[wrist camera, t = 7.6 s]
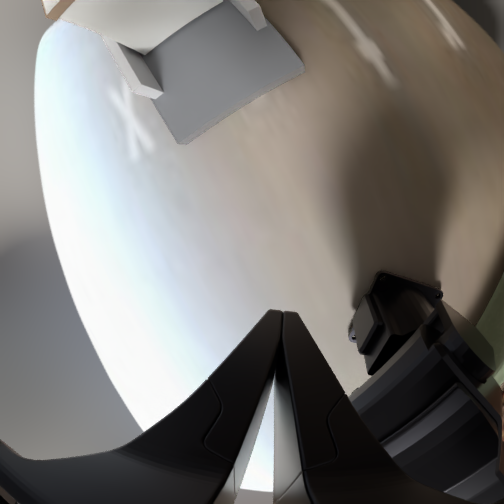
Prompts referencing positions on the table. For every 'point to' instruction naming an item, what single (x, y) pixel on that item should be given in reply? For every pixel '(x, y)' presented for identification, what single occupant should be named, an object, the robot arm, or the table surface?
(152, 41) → the white box
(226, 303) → the table surface
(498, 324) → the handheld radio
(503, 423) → the book
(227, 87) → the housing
